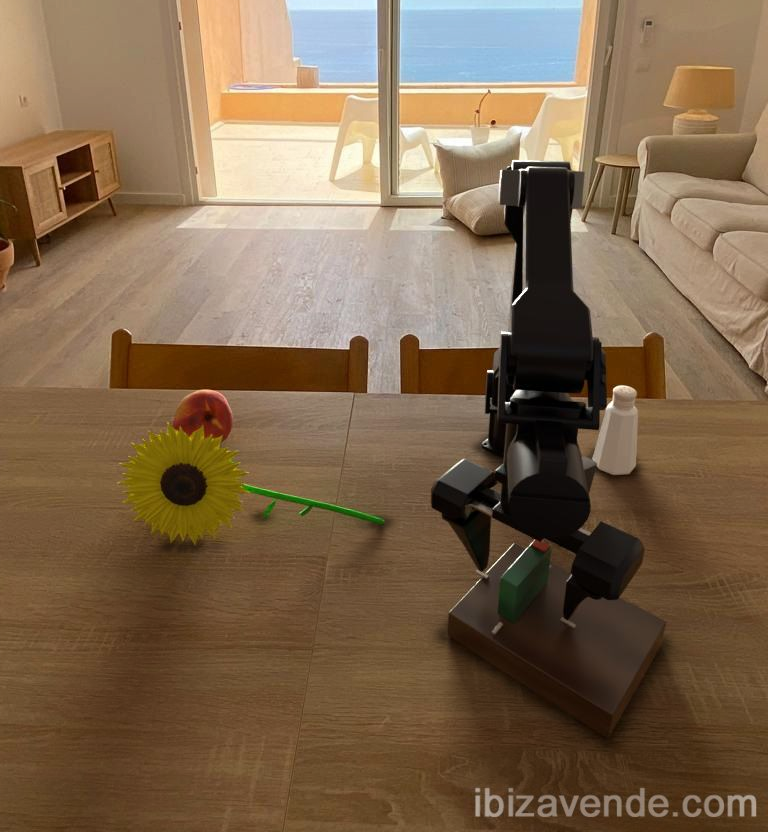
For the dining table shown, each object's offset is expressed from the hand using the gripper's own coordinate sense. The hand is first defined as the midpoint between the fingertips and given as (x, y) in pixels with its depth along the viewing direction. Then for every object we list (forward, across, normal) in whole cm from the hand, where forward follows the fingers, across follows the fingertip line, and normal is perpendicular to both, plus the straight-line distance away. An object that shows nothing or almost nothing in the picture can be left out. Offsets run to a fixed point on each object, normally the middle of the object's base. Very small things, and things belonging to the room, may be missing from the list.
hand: (523, 591), depth 66 cm
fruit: (+4, +48, +1) cm, 49 cm away
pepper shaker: (+4, +4, -30) cm, 30 cm away
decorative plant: (+4, +30, +8) cm, 31 cm away
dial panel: (+4, -4, 0) cm, 5 cm away
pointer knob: (+1, 0, 0) cm, 1 cm away
